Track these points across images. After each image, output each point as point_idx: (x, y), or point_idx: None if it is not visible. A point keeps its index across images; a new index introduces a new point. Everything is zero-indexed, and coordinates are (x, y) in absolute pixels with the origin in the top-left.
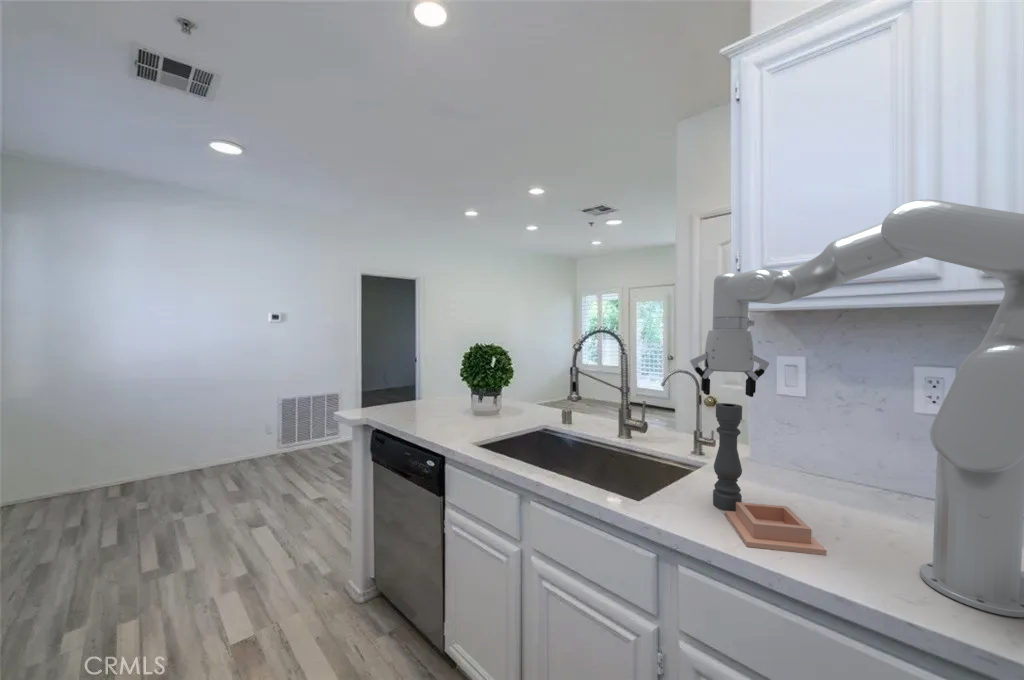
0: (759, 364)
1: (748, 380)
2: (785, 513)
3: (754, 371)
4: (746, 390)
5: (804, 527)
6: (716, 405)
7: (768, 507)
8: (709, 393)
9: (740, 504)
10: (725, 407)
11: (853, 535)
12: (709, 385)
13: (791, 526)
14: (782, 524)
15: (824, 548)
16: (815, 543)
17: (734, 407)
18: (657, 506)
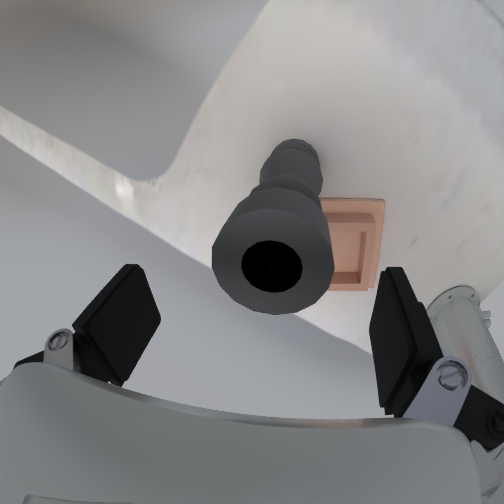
0: (501, 478)
1: (392, 387)
2: (364, 237)
3: (469, 427)
4: (385, 302)
5: (360, 287)
6: (213, 267)
7: (344, 230)
8: (158, 323)
9: None
10: (246, 305)
11: (438, 229)
12: (138, 356)
13: (344, 288)
14: (335, 285)
15: (373, 285)
16: (370, 276)
17: (282, 313)
18: (180, 194)
